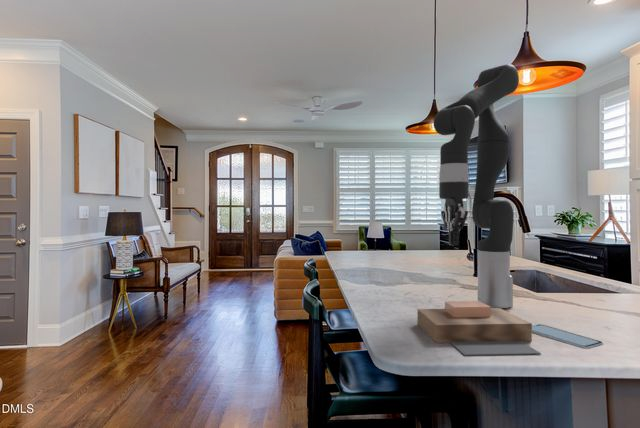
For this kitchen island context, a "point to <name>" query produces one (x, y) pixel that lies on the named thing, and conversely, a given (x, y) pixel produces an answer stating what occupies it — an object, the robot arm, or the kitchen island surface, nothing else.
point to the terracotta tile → (467, 309)
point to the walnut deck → (474, 326)
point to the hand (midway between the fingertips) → (453, 245)
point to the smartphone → (565, 336)
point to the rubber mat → (494, 348)
